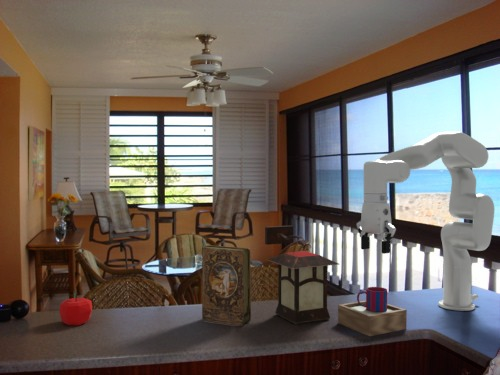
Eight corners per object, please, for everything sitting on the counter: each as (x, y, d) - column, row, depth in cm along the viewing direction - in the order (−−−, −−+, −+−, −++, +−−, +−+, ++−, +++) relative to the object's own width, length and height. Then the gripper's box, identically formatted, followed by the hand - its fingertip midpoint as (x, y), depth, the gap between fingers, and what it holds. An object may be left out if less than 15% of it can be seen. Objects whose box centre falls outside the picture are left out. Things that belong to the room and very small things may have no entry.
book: (199, 321, 174) (199, 247, 173) (207, 316, 179) (207, 245, 178) (243, 327, 167) (243, 250, 166) (250, 322, 172) (250, 248, 171)
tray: (373, 316, 179) (373, 299, 179) (406, 329, 165) (406, 309, 165) (338, 323, 171) (338, 304, 171) (369, 336, 158) (369, 316, 158)
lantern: (300, 303, 198) (300, 225, 196) (339, 320, 174) (340, 232, 173) (256, 308, 190) (256, 227, 189) (292, 328, 166) (292, 235, 165)
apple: (96, 324, 170) (95, 294, 170) (62, 329, 165) (61, 298, 165) (89, 316, 179) (88, 288, 179) (56, 321, 174) (56, 291, 174)
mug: (389, 312, 166) (390, 291, 166) (359, 312, 165) (359, 291, 165) (383, 306, 172) (383, 286, 172) (353, 307, 172) (354, 287, 172)
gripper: (403, 199, 162) (403, 253, 163) (366, 197, 178) (366, 246, 178) (385, 200, 159) (385, 256, 160) (349, 198, 174) (349, 248, 175)
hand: (375, 251), depth 169 cm, fingers open, 9 cm apart
